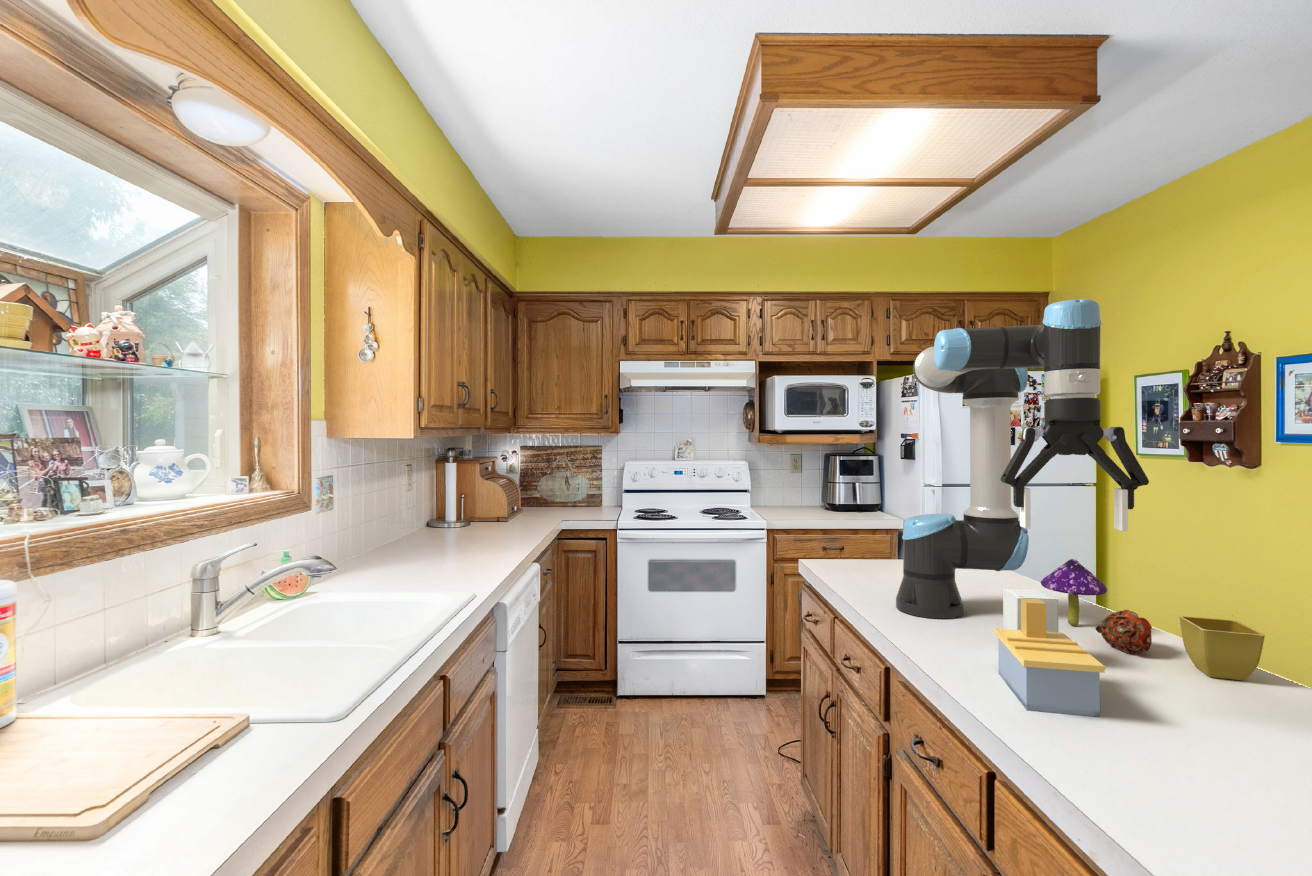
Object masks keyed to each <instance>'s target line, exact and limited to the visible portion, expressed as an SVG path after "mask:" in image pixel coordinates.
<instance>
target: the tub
mask: <svg viewBox="0 0 1312 876" xmlns="http://www.w3.org/2000/svg"><path fill="white" fill-rule="evenodd" d="M997 638H998V637H997ZM997 647H998V675H999V676H1000V678H1002V680H1003V681H1004V682H1005V684H1006V685H1007V687H1008V688H1009V689H1010V690H1011V692H1012V693H1013V694H1014V696H1015V698H1017V700H1018V701H1019V702H1020V704H1021V705H1022V706H1023V708H1025V710H1026V711H1033V712H1044V713H1054V714H1055V713H1056V714H1064V715H1065V714H1066V715H1075V716H1085V717H1098V718H1100V717H1101V715H1100V713H1101V711H1100V708H1101V706H1100V705H1101V703H1100V700H1101V699H1100V697H1101V696H1100V694H1101V693H1100V691H1101V690H1100V688H1101V687H1100V684H1101V683H1100V676H1101V675H1100V674H1101V673H1100V672H1087V671H1074V670H1061V669H1048V668H1036V667H1024V666H1023V665H1022V664H1021V663H1020V662H1019V661H1018V659H1017V658H1016V657H1015V656H1014V655H1013V654H1012V653H1011V652H1010V650H1009V649H1008V648H1007V647H1006V646H1005V645H1004V644H1003V643H1002V642H1001V640H1000V639H999V638H998V646H997Z"/></svg>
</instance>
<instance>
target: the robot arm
mask: <svg viewBox="0 0 1312 876" xmlns="http://www.w3.org/2000/svg"><path fill="white" fill-rule="evenodd" d="M1043 311H1044V312H1043V319H1042V324H1035V325H1033V324H1032V325H1016V326H1012V325H1011V326H998V327H976V328H975V327H974V328H972V327H971V328H961V327H955V328H953V329H943V330H940V331H938V332H937V334H936V336H935V338H934V346H930V347H928V348H925V349H924V350H923V351H921V352H920V353H919V354H918V355H917V356H916V357H915V359H914V362H913V366H912V372H913V376H914V379H916V381H917V382H918V383H919V384H920V385H921V386H923V387H924V388H926V389H928V390H932V391H934V392H936V393H944V394H962V402H963V403H964V404H966V405H967V407H968V408H969V423H970V424H969V456H970V457H969V460H970V461H969V464H970V465H969V471H970V472H969V473H970V476H969V477H970V478H969V479H970V481H969V482H970V483H969V491H970V492H969V493H970V495H969V496H970V497H969V498H970V499H969V500H970V501H969V502H970V505H969V506H968V508H966V509H965V511H963V514H962V515H963V519H962V520H957V519H956V517H955V515H954V514H952V513H927V514H921V515H915V516H914V515H913V516H911V517H908V518H907V519H905V520H904V523H903V528H902V529H903V530H902V536H901V538H902V540H903V543H902V545H903V547H902V548H903V549H902V550H903V551H902V554H903V556H902V557H903V561H902V562H903V566H902V568H903V569H902V570H903V571H902V572H903V573H902V575H903V576H902V580H901V582H900V585H899V587H898V590H897V594H896V597H895V608H896V609H897V610H898V611H901V612H902V613H905V614H908V615H911V616H916V617H921V618H928V619H955V618H958V617H961V616H963V615H964V603H963V600H962V597H961V594H960V592H959V588H958V586H957V583H956V569H960V570H961V569H962V570H980V571H981V570H982V571H983V570H986V571H995V572H1001V571H1017V570H1019V569H1020V568H1021V567H1022V565H1023V564H1024V563H1025V560H1026V558H1027V554H1028V550H1029V540H1030V539H1029V537H1030V536H1029V534H1028V532H1029V531H1028V529H1031V526H1032V525H1031V523H1032V522H1031V521H1032V519H1031V488H1029V487H1026V485H1028V484H1029V482H1031V480H1032V479H1033V478H1034V477H1035V476H1036V475H1037V474H1038V473H1039V472H1040V471H1041V470H1042V469H1043V468H1044V467H1045V466H1046V465H1047V464H1048V463H1049V462H1050V461H1051V459H1053V458H1055V457H1056V455H1060V456H1072V455H1075V456H1086V455H1088V456H1089V457H1091V459H1093V460H1094V461H1095V462H1096V464H1097V465H1099V466H1100V467H1101V469H1103V470H1104V471H1105V472H1106V474H1107V475H1108V476H1109V477H1111V478H1112V479H1113V480H1114V482H1115V483H1116V484H1117V485H1118V486H1119V487H1120V488H1118V487H1115V488H1114V487H1113V529H1114V530H1117V531H1121V532H1128V531H1129V529H1128V528H1129V517H1128V516H1129V515H1128V514H1129V510H1133V509H1134V508H1135V491H1136V490H1137V489H1138V488H1139V487H1142V486H1147V485H1149V483H1150V479H1149V478H1148V476H1147V475H1146V473H1145V471H1144V470H1143V467H1142V466H1141V465H1140V462H1139V461H1138V459H1137V458H1136V456H1135V454H1134V453H1133V451H1132V449H1131V446H1130V445H1129V443H1128V441H1127V440H1126V435H1125V434H1126V432H1125V428H1124V427H1122V426H1110V427H1109V428H1102V426H1101V400H1100V399H1099V397H1096V396H1098V395H1099V394H1100V393H1101V326H1102V320H1101V313H1100V311H1101V310H1100V304H1099V302H1098V301H1096V300H1093V299H1088V298H1086V299H1085V298H1084V299H1083V298H1082V299H1080V298H1079V299H1068V300H1062V301H1057V302H1053V303H1050V304H1048V305H1047V306H1046V307H1045V308H1044V310H1043ZM1028 369H1033V370H1043V371H1044V373H1043V374H1044V376H1043V377H1044V379H1043V381H1044V382H1043V383H1044V384H1043V386H1044V387H1043V389H1044V390H1043V395H1044V396H1045V397H1048V398H1047V399H1046V400H1045V401H1044V403H1043V404H1044V405H1043V407H1044V408H1043V409H1044V410H1043V412H1044V415H1043V417H1044V419H1043V421H1044V422H1043V423H1044V425H1043V428H1042V429H1038V428H1034V427H1024V428H1023V429H1022V431H1021V439H1020V442H1019V444H1018V446H1017V448H1016V449H1015V451H1014V453H1013V455H1012V452H1011V451H1012V449H1011V448H1012V445H1011V444H1012V443H1011V442H1012V439H1011V438H1012V434H1011V431H1012V430H1011V429H1012V428H1011V425H1012V424H1011V416H1012V415H1011V414H1012V413H1011V407H1012V406H1013V404H1014V403H1016V402H1017V401H1019V400H1018V399H1019V394H1020V393H1021V392H1024V391H1025V390H1026V389H1027V386H1028V380H1029V375H1028V374H1029V372H1028V371H1029V370H1028ZM1040 437H1041V438H1042V439H1043V440H1044V441H1045V442H1046V444H1045V445H1044V447H1043V448H1042V449H1041V450H1040V451H1039V453H1038V454H1037V455H1036V457H1034V459H1032V460H1031V462H1029V464H1027V465H1026V467H1025V468H1024V469H1023V470H1022V471H1021V472H1020V473H1019V471H1020V469H1021V467H1022V466H1023V464H1024V462H1025V460H1026V458H1027V457H1028V455H1029V454H1030V451H1031V449H1032V448H1033V446H1034V443H1035V442H1038V440H1039V438H1040ZM1103 437H1105V439H1106V441H1107V442H1109V443H1110V445H1111V447H1112V448H1113V451H1114V453H1116V456H1117V458H1118V459H1119V461H1120V462H1121V464H1122V465H1123V467H1124V470H1125V471H1126V472H1125V471H1123V469H1121V468H1120V466H1119V465H1117V464H1116V462H1115V461H1114V460H1113V459H1112V458H1111V457H1109V455H1108V454H1107V453H1106V451H1105V450H1104V449H1103V448H1102V447H1101V445H1099V442H1100V440H1102V439H1103ZM1011 455H1012V456H1011ZM1012 488H1013V490H1012ZM1012 491H1013V492H1012ZM1012 493H1013V499H1012ZM1012 500H1013V506H1014V507H1017V508H1019V514H1018V512H1016V511H1015V510H1014V509H1013V508H1012Z"/></svg>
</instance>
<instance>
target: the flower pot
mask: <svg viewBox="0 0 1312 876" xmlns="http://www.w3.org/2000/svg"><path fill="white" fill-rule="evenodd" d="M1179 623H1180V631H1181V637H1182V643H1183V647H1184V649H1185V652H1186V654H1187V655H1188V658H1189V659H1190V661H1191V662H1192V664H1193V665H1194V667H1195V668H1196V669H1198V670H1199V671H1201V672H1202V673H1204V675H1206V676H1208V677H1210V678H1219V679H1226V680H1227V679H1228V680H1233V681H1234V680H1235V681H1245V680H1247V678H1249V677H1250V676H1251V675H1252V674H1253V673H1254V672H1255V671H1256V669H1257V668H1258V665H1259V664H1260V660H1261V657H1262V651H1263V648H1264V647H1263V646H1264V641H1265V636H1266V635H1265V634H1264V633H1263V632H1260V631H1258V630H1256V629H1254V628H1252V627H1250V626H1248V625H1246V624H1244V623H1242V622H1240V621H1238V620H1234V619H1222V618H1212V617H1199V616H1198V617H1197V616H1189V615H1188V616H1185V615H1179Z"/></svg>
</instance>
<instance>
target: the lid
mask: <svg viewBox="0 0 1312 876" xmlns="http://www.w3.org/2000/svg"><path fill="white" fill-rule="evenodd" d="M994 635H995V636H996V637H997V638H999V639H1000V640H1001V642H1002V643H1003V644H1004V645H1005V646H1006V647H1007V648H1008V649H1009V650H1010V652H1011V653H1012V654H1013V655H1014V656H1015V657H1016V658H1017V659H1018V661H1019V662H1020V663H1021V664H1022V665H1023V666H1024V667H1036V668H1048V669H1061V670H1074V671H1087V672H1100V674H1101V673H1102V674H1105V673H1106V671H1105V670H1106V666H1105V665H1104V664H1103V663H1101V662H1100V661H1099V660H1098V659H1096V658H1095V657H1094V656H1093V655H1092V654H1090V653H1089V651H1087V650H1086V649H1084V648H1083V647H1081V645H1079V644H1078V643H1077V642H1076V641H1074V640H1073V639H1071V638H1070V636H1068V635H1067V634H1066V633H1064V632H1059V631H1058V632H1046V604H1045V603H1044V602H1043V601H1041V600H1040V599H1026V598H1021V630H1013V629H1003V628H997V627H996V628H994Z"/></svg>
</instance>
